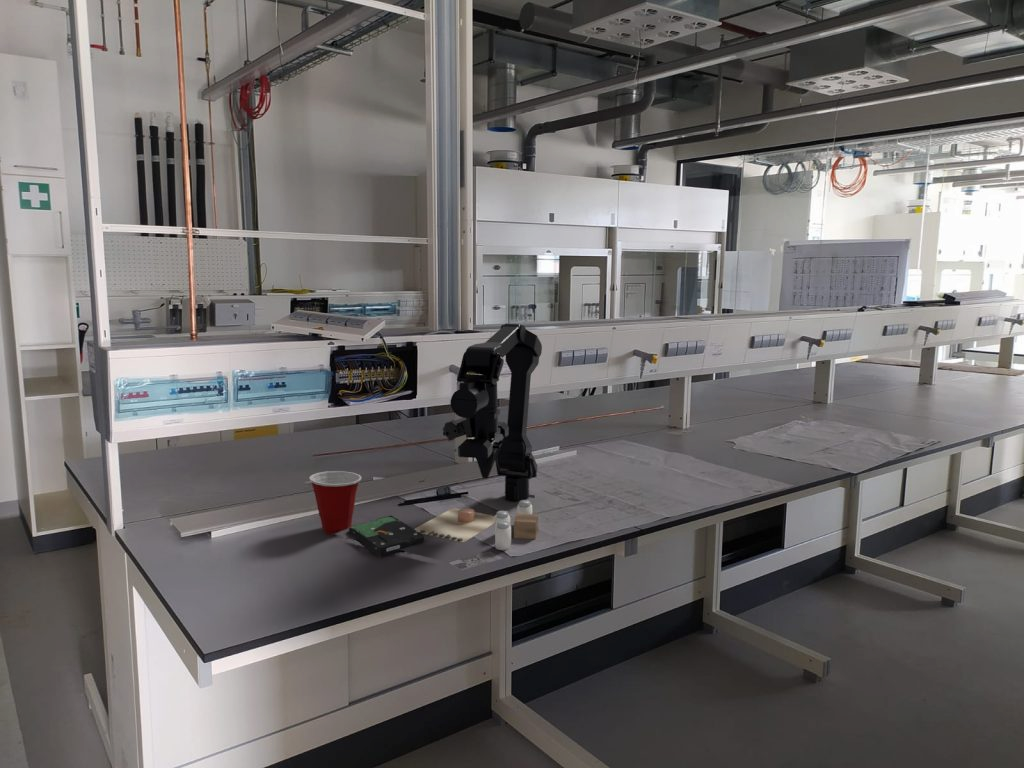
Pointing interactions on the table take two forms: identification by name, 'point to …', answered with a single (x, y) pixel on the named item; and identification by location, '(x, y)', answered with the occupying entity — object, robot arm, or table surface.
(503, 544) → the vial
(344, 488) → the plastic cup
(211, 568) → the table surface
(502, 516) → the vial
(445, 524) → the beige flat board
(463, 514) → the puck
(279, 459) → the table surface
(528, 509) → the vial
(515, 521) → the walnut block
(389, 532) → the disk drive
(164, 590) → the table surface
